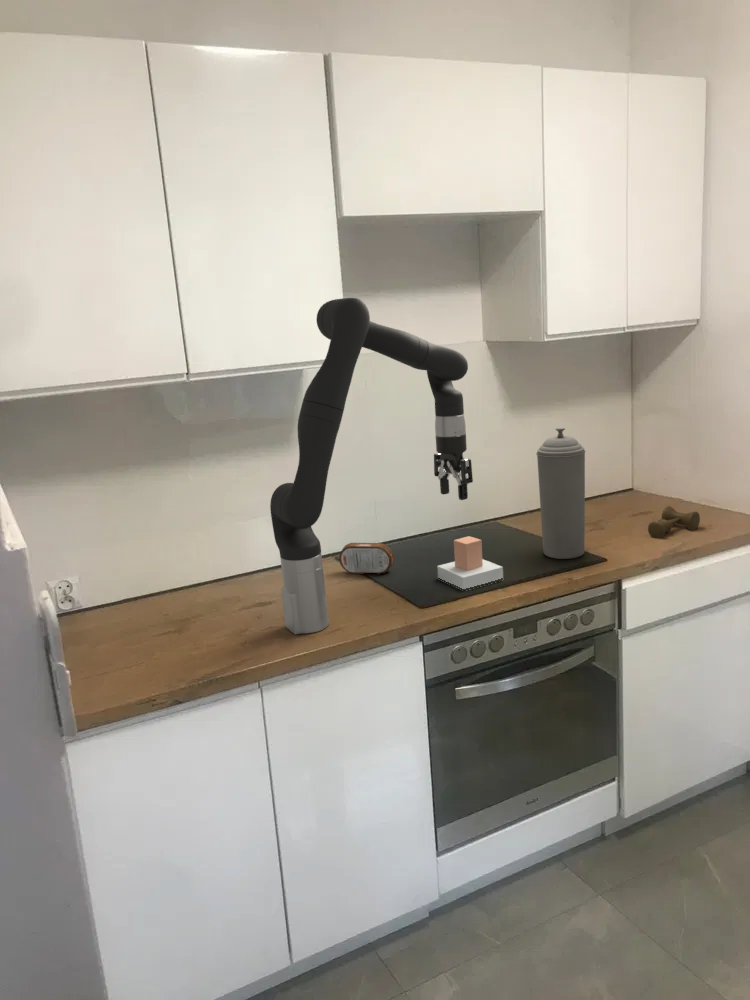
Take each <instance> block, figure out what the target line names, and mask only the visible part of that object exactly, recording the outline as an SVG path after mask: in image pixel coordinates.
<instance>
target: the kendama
mask: <svg viewBox="0 0 750 1000" xmlns="http://www.w3.org/2000/svg"><path fill="white" fill-rule="evenodd" d="M700 516H701V515H700V513H699V512H698V511H691V512H688V513H682V512H679V511H677V510H676V509H674V507H673V506H671V505H668V506H666V507H665V508H663V510H662V513H661V518H660V519H658V520H657V521H656V520H655V521H651V522H649V524H648V526H647V531H648V532H647V533H648V534H649V536H650V537H652V538H653V539H661V538H663V537H664V536H665V535H666V534H669V533H671V531H672V528H673V527H674V526H675V525H677V524H678V525H682V526H684V527H686V528H687V529H688V530H690V531H694V530H697V529H698V527H699V525H700V521H701V517H700Z"/></svg>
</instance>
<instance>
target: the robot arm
mask: <svg viewBox="0 0 750 1000" xmlns="http://www.w3.org/2000/svg"><path fill="white" fill-rule="evenodd" d="M370 317H371V316H370V311H369V308H368V307H367V304H366V303H365V302H364V301H363V300H362V299H360V298H357V297H344V298H335V299H332V300H329V301H326V302H325V303H323V304H322V305H321V306H320V307H319V309H318V311H317V314H316V326H317V329H318V330H319V332H320V334H322V336H324V337H325V338H326V339H328V340H330V342H329V345H328V350H327V353H326V356H325V358H324V360H323V362H322V365H321V366H320V368H319V369H318V371H317V372H316V374H315V376H314V377H313V379H312V380H311V381H310V383H309V385H308V386H307V389H306V391H305V393H304V395H303V399H302V402H301V406H300V410H299V415H298V419H297V441H298V450H299V451H298V453H299V454H298V455H299V457H298V465H297V469H296V474H295V478H294V480H293V482H286V483H283V484H280V485H278V487H276V488H275V489H274V491H273V492H272V495H271V498H270V504H269V505H270V506H269V509H270V517H271V523H272V530H273V537H274V541H275V543H276V547H277V549H278V551H279V557H280V558H279V559H280V567H281V575H282V582H283V583H282V585H283V587H281V589H280V591H281V598H282V600H281V601H282V609H283V610H282V611H283V617H284V625H285V627H286V629H288V630H289V631H290V632H291V633H293V634H294V636H295V635H299V634H311V633H316V632H320V631H322V630H324V629H326V628H327V627H328V626H329V612H328V603H327V595H326V584H325V576H324V567H323V558H322V556H323V555H322V547H321V541H320V540H319V538H318V537H317V536H316V534H315V532H314V530H313V527H312V526H314V525H315V524H316V523H317V521H319V518H320V516H321V514H322V510H323V507H324V501H325V494H326V488H327V487H326V486H327V482H328V474H329V469H330V465H331V462H332V457H333V454H334V449H335V444H336V440H337V437H338V433H339V429H340V427H341V423H342V419H343V415H344V412H345V408H346V406H345V405H346V402H347V397H348V395H349V391H350V386H351V383H352V380H353V376H354V371H355V367H356V364H357V361H358V359H359V357H360V353H361V350H362V348H365V349H367V350H370V351H373V352H375V353H378V354H381V355H383V356H384V357H388V358H390V359H392V360H395V361H397V362H398V363H401V364H403V365H406V366H409V367H411V368H413V369H415V370H420V371H426V375H427V379H428V383H429V387H430V390H431V392H432V395H433V399H434V414H435V419H434V420H435V421H434V430H435V431H434V433H435V448H436V453H434V454H433V470H434V471H433V472H434V473H433V474H434V477H437V479H438V480H439V487H440V489H439V490H440V494H441V495H448V494H449V493H450V480H449V477H450V476H451V475H452V477H453V478H454V479H455V480H456V482H457V484H458V485H457V492H458V494H457V495H458V496H457V497H458V500H460V501H465V500H468V497H469V496H468V495H469V494H468V484H471V483H473V482H474V479H473V467H472V459H471V458H464V453H465V452H466V451H467V446H468V445H467V431H466V420H465V413H464V412H465V410H464V397H463V393H462V392H461V391H459V390H457V389H456V388H455V387H454V385H453V382H455V381H460V380H461V379H463V378H464V377H465V376H466V374H467V373H468V368H469V363H468V360H467V358H466V357H465V356H464V354H462V353H461V352H460V351H458V350H455V349H452V348H449V347H445V346H443V345H439V344H435V343H432V342H430V341H428V340H426V339H424V338H421V337H419V336H417V335H415V334H413V333H410V332H407V331H405V330H401V329H397V328H394V327H389V326H385V325H382V324H379V323H376V322H374V321H371V320H370V319H371V318H370Z"/></svg>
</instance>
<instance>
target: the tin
mask: <svg viewBox="0 0 750 1000" xmlns="http://www.w3.org/2000/svg"><path fill="white" fill-rule="evenodd" d="M338 559H339V564H340V566H341V568H342V569H343V570H344V571H346V572H347V573H349V574H355V575H356V574H357V575H361V574H362V575H365V574H364V573H368V572H369V573H371V572H372V573H373V572H374V573H383V574H385V573H388V572H389V570H390V569H391V568H392V567H393V565H394V562H395V555H394V553H393V550H392V549H391V548H390V547H389V546H388V545H386V544H384V543H382V542H350V543H347V544H345V546H343V548H342V549H341V551H340V553H339V556H338Z"/></svg>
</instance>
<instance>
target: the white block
mask: <svg viewBox="0 0 750 1000" xmlns="http://www.w3.org/2000/svg"><path fill="white" fill-rule="evenodd" d="M482 562H483V566H482V567H478V568H475V569H472V570H468V571H467V570H464V569H461V568H458V567H456V566H455V561H450V562H447V563H443V564H439V565H437V570H436V571H437V579H438V578H440V579H442V580H445V581H446V582H449V583H451V584H454V585H456V586H458V587H460V588H462V589H466V588H470V587H474V586H477V585H481V584H485V583H488V582H491V581H495V580H498V579H501V578H503V579H504V567H503V566H502V565H498V564H496V563H494V562H491V561H489V560H485V559H484V558H482ZM440 579H439V580H440ZM442 580H441V581H442ZM446 582H445V583H446Z"/></svg>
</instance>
